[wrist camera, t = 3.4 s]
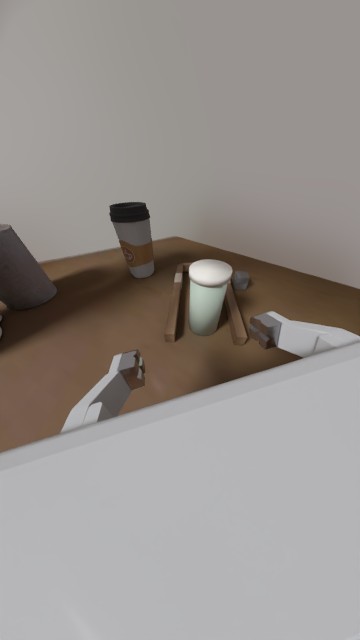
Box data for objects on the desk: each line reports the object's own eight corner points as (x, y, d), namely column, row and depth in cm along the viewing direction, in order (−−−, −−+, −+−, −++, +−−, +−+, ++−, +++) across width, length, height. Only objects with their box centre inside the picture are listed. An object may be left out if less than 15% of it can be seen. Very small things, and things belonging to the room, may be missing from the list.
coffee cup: (121, 275, 40) (97, 206, 29) (143, 263, 44) (129, 201, 33) (143, 283, 36) (125, 209, 25) (164, 270, 41) (156, 203, 30)
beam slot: (165, 341, 24) (163, 329, 21) (178, 269, 41) (177, 259, 39) (269, 346, 22) (278, 334, 20) (237, 270, 40) (240, 259, 38)
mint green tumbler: (187, 336, 24) (188, 279, 17) (188, 314, 28) (189, 259, 20) (219, 337, 24) (236, 279, 16) (216, 315, 28) (228, 259, 20)
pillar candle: (-1, 315, 29) (-108, 232, 18) (17, 290, 36) (-55, 217, 25) (53, 304, 32) (-14, 224, 21) (61, 282, 38) (13, 212, 27)
